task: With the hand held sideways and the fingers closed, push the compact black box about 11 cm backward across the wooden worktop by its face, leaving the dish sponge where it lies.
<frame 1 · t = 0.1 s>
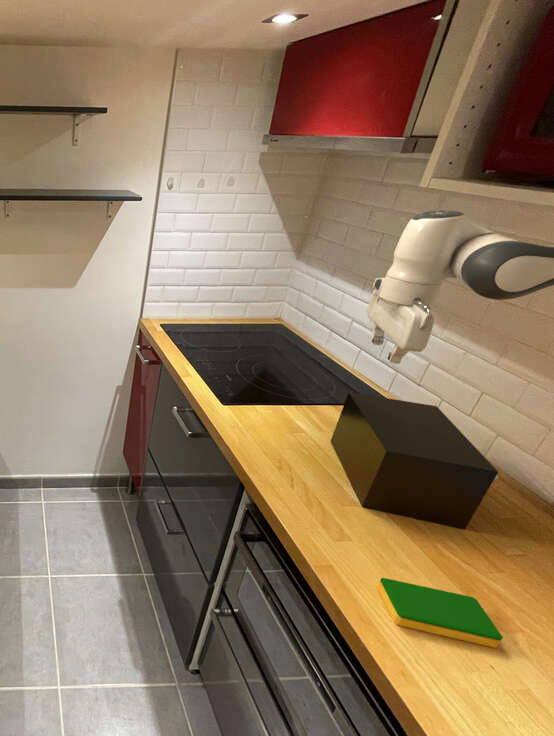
hand: (384, 352, 97), 30 cm above the worktop, tool pointing down, fingers open, 8 cm apart
black box: (389, 480, 103), on the worktop
dish sponge: (432, 616, 74), on the worktop
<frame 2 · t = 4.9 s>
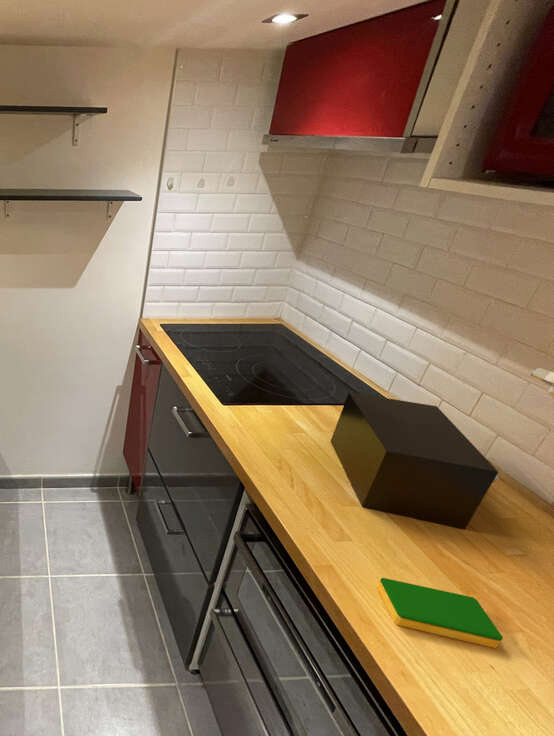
hand: (533, 371, 91), 29 cm above the worktop, tool horizontal, fingers closed
nothing on the worktop moved.
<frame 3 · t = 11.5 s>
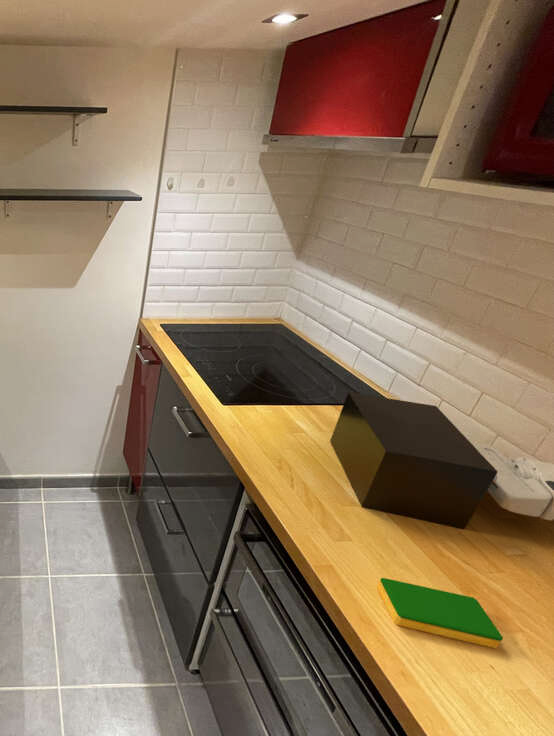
hand: (450, 465, 98), 7 cm above the worktop, tool horizontal, fingers closed, pressing on black box
black box: (388, 479, 103), on the worktop, touching gripper
everything else where it was.
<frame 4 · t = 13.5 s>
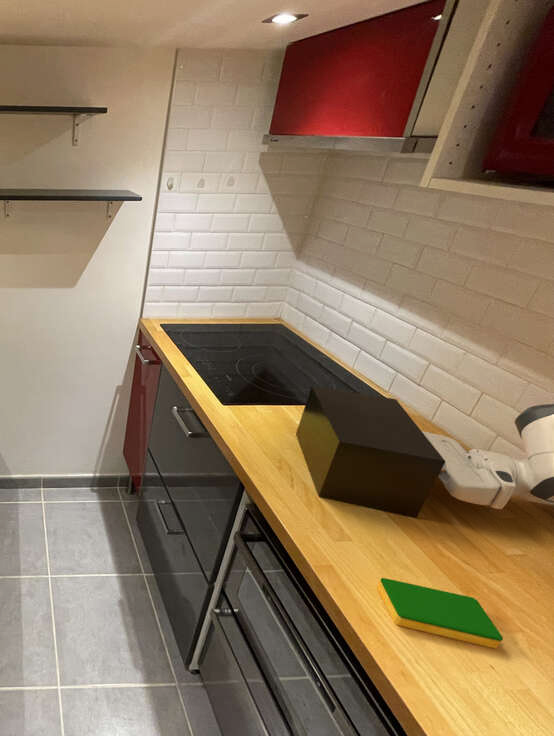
hand: (407, 456, 100), 7 cm above the worktop, tool horizontal, fingers closed, pressing on black box
black box: (348, 471, 106), on the worktop, touching gripper
everything else where it was.
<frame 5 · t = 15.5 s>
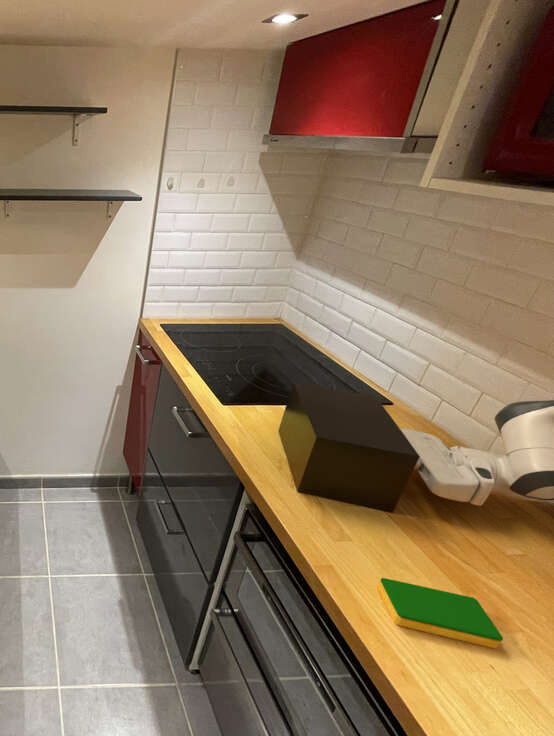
hand: (389, 453, 101), 7 cm above the worktop, tool horizontal, fingers closed
black box: (328, 467, 107), on the worktop
everything else where it was.
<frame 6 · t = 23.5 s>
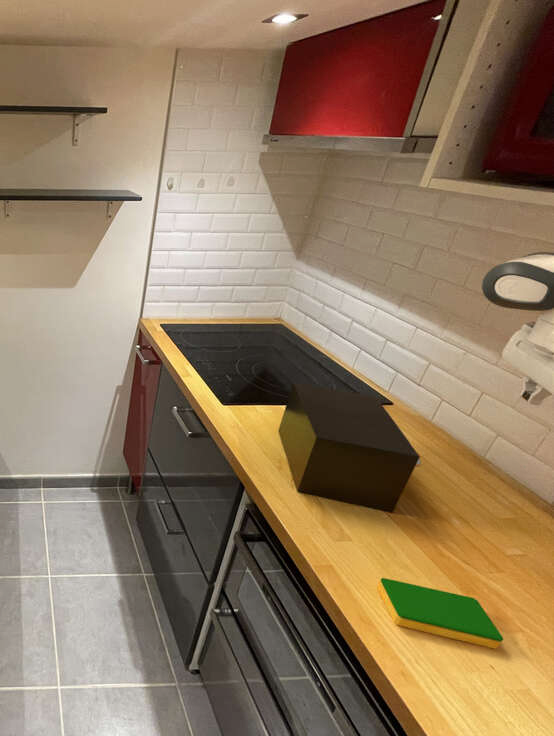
hand: (529, 401, 88), 25 cm above the worktop, tool pointing down, fingers closed
nothing on the worktop moved.
at the end: black box inside the target area (0.9 cm from its centre), on the worktop; black box tilted 0°; dish sponge moved 0.2 cm from its start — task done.
